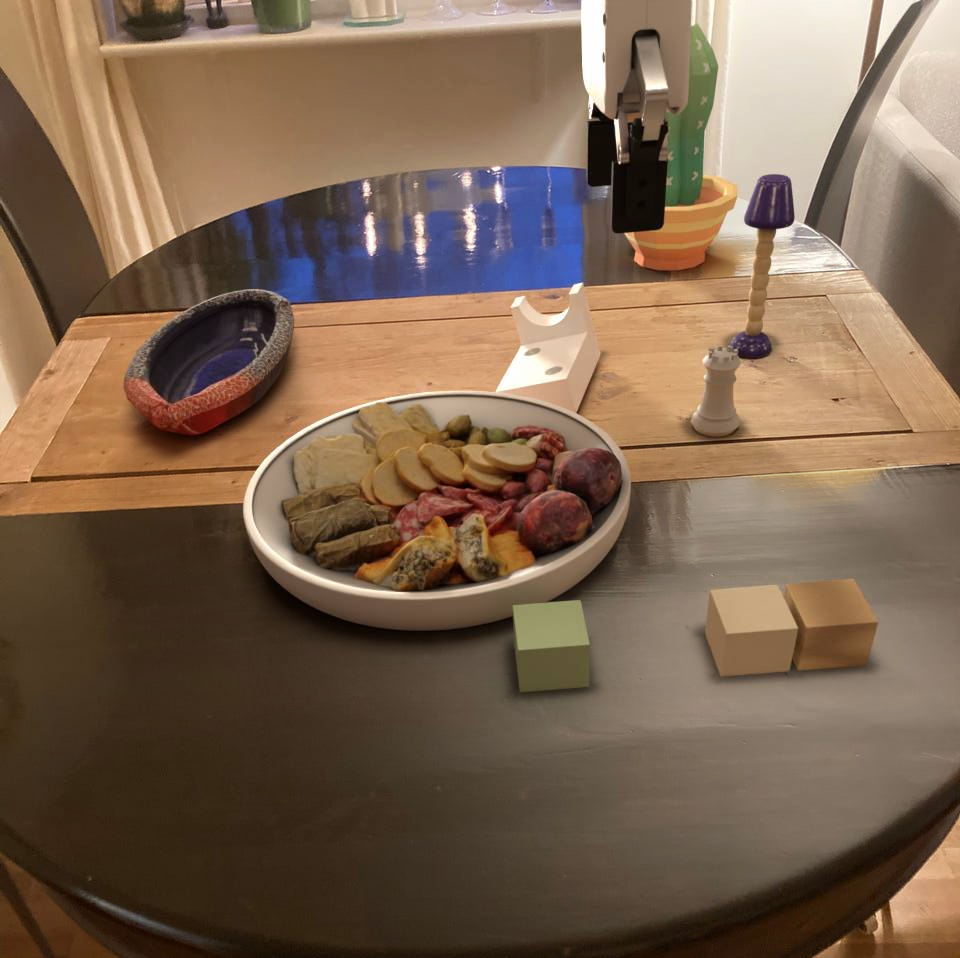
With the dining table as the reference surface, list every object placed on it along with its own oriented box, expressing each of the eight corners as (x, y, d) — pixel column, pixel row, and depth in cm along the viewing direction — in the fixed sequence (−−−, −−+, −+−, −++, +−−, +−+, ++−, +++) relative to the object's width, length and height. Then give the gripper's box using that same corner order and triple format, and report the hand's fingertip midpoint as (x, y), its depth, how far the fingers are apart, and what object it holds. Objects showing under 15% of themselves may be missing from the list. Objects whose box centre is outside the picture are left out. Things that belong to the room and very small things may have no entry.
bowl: (201, 644, 68) (172, 555, 63) (313, 437, 91) (297, 358, 86) (623, 664, 64) (628, 571, 59) (631, 441, 86) (635, 359, 81)
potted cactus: (631, 232, 128) (640, 12, 112) (745, 243, 123) (773, 13, 106) (590, 272, 118) (593, 37, 102) (712, 286, 113) (737, 39, 96)
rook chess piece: (714, 452, 84) (724, 367, 79) (678, 434, 87) (685, 350, 82) (749, 435, 86) (761, 351, 81) (712, 418, 89) (721, 335, 84)
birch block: (841, 630, 65) (854, 578, 63) (864, 674, 62) (879, 621, 59) (775, 635, 65) (785, 583, 63) (795, 680, 62) (806, 627, 59)
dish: (327, 323, 111) (320, 280, 108) (243, 458, 88) (230, 409, 85) (201, 323, 113) (190, 281, 110) (87, 455, 91) (69, 407, 87)
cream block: (768, 635, 65) (778, 584, 63) (787, 680, 62) (798, 628, 59) (703, 641, 66) (709, 589, 63) (719, 686, 62) (726, 633, 59)
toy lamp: (725, 340, 101) (744, 171, 90) (770, 338, 101) (794, 169, 90) (732, 360, 98) (753, 186, 87) (779, 358, 97) (805, 183, 86)
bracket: (536, 366, 101) (516, 297, 97) (600, 353, 99) (582, 282, 94) (506, 425, 92) (482, 352, 88) (576, 413, 89) (554, 337, 85)
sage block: (580, 650, 66) (580, 599, 63) (589, 696, 62) (590, 644, 59) (514, 655, 66) (512, 605, 63) (520, 701, 62) (517, 650, 59)
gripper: (749, -130, 44) (712, 246, 56) (669, -142, 58) (652, 164, 69) (588, -117, 44) (585, 257, 56) (545, -132, 57) (549, 173, 69)
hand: (622, 205), depth 62 cm, fingers open, 9 cm apart
